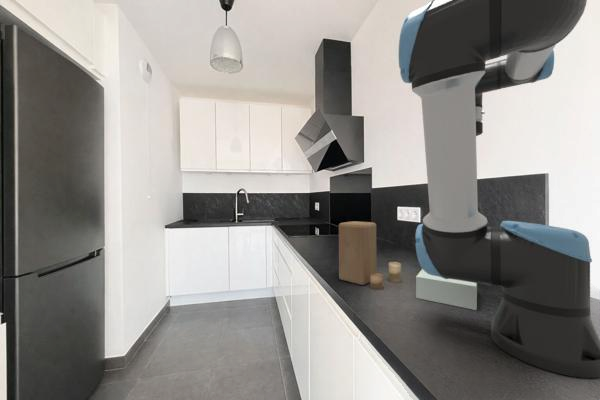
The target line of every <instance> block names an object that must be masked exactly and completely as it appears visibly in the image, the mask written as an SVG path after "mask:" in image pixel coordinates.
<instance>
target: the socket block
mask: <svg viewBox="0 0 600 400" xmlns="http://www.w3.org/2000/svg"><path fill="white" fill-rule="evenodd" d="M415 298H416V299H420V300H423V301H424V300H425V301H430V302H434V303H441V304H445V305H450V306H454V307H460V308H463V309H469V310H474V311H477V310H478V309H477V307H478V305H477V303H478V302H477V301H478V283H474V282H468V281H461V280H455V279H444V278H442V277H439V276H434V275H430V274H428V273H426V272H425V271H424V270H423V269H422V268H421V270H420V271H419V272H418V274H416V276H415Z"/></svg>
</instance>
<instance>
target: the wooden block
mask: <svg viewBox="0 0 600 400" xmlns="http://www.w3.org/2000/svg"><path fill="white" fill-rule="evenodd" d="M377 265H378V264H377V223H375V222H372V221H357V220H356V221H346V222H345V221H344V222H340V223H339V224H338V279H339V280H341V281H345V282H349V283H353V284H357V285H360V286H365V285H367V284H368V283H369V284H370V274H372V273H377V272H378V271H377V268H378V267H377Z"/></svg>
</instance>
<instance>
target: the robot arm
mask: <svg viewBox="0 0 600 400" xmlns="http://www.w3.org/2000/svg"><path fill="white" fill-rule="evenodd" d="M587 3H588V2H587V0H431V1H429V2H428V3H427V4H425V5H424V6H421V7H419V8H417V9H416V10H412V12H410V13H408V15H407V16H406V18H405V19H404V21H403V24H402V27H401V29H400V34H399V39H398V40H399V41H398V66H399V67H398V68H399V70H400V71H399V73H400V78H401V80H402V81H403V82H404V83H405V84H411V91H412V93H413V94H415V95H417V96H418V97H419V98H420V99H421V110H422V122H423V123H422V125H423V136H424V139H423V140H424V153H425V166H426V176H427V177H426V178H427V191H428V194H427V195H428V203H429V205H428V206H429V212H428V213H427V214H426V215H425V216H424V217H423V218H422V223H421V224H418V225H417V227H416V230H415V251H416V257H417V260H418V264H419V265H420V267H421V270H422V269H423V270H424V271H425V272H426V273H428V274H430V275H434V276H439V277H442V278H444V279H455V280H461V281H468V282H474V283H477V284H481V285H488V286H493V287H499V288H501V301H500V302H499V305H498V307H497V310H496V312H495V314H494V317H493V319H492V321H491V325H490V338H491V340H492V342H493V343H494V344H495V345H497V347H498V348H500V349H501V350H502V351H504V352H505V353H507V354H508V355H511V356H512V357H514V358H516V359H518V360H520V361H522V362H525V363H527V364H529V365H531V366H534V367H537V368H540V369H542V370H545V371H548V372H552V373H556V374H559V375H565V376H570V377H574V378H582V379H583V378H584V379H586V378H587V379H594V378H595V379H596V378H600V336H599V335H598V333H597V331H596V328H595V326H594V323H593V322H592V320H591V319H592V318H591V263H592V262H593V260H592V258H591V250H590V241H589V239H588V237H587V236H586V235H585V234H583V233H582V232H580V231H577V230H574V229H569V228H564V227H559V226H553V225H545V224H542V223H541V224H539V223H533V222H523V221H514V220H503V221H501V223H500V225H499V226H500V227H494V226H493V227H491V226H488V219H487V217H486V216H485V215H483V214H482V213H481V212H479V210H478V209H479V206H478V203H479V202H478V201H479V200H478V163H477V161H478V160H477V136H481V135H482V134H483V133H484V131H483V127H484V126H483V125H484V123H483V115H485V114H486V112H485V110H483V94H484V93H485V94H486V93H488V92H489V93H490V92H493V91H497V90H502V89H507V88H509V87H511V88H512V87H515V86H522V85H526V84H533V83H536V82H538V81H542V80H546V79H549V78H550V77H551V76H552V74H553V71H554V68H555V67H554V65H555V52H554V48H555V47H556V45H557V44H558V43H560V42H561V41H563V40H564V39H565V38H566V37H568V36H569V34H571V32H572V31H573V30H574V29H575V27H577V24H578V23H579V22H580V20H581V18H582V16H583V14H584V12H585V9H586V5H587ZM504 56H506V58H505V59H499V60H497V61H493V62H489V63H486V62H487V61H490V60H494V59H498V58H500V57H504Z"/></svg>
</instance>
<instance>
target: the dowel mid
mask: <svg viewBox="0 0 600 400" xmlns="http://www.w3.org/2000/svg"><path fill="white" fill-rule="evenodd" d="M388 281H389V282H390V283H394V284H395V283H396V284H399V283H402V263H400V262H398V261H390V262H388Z"/></svg>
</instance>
